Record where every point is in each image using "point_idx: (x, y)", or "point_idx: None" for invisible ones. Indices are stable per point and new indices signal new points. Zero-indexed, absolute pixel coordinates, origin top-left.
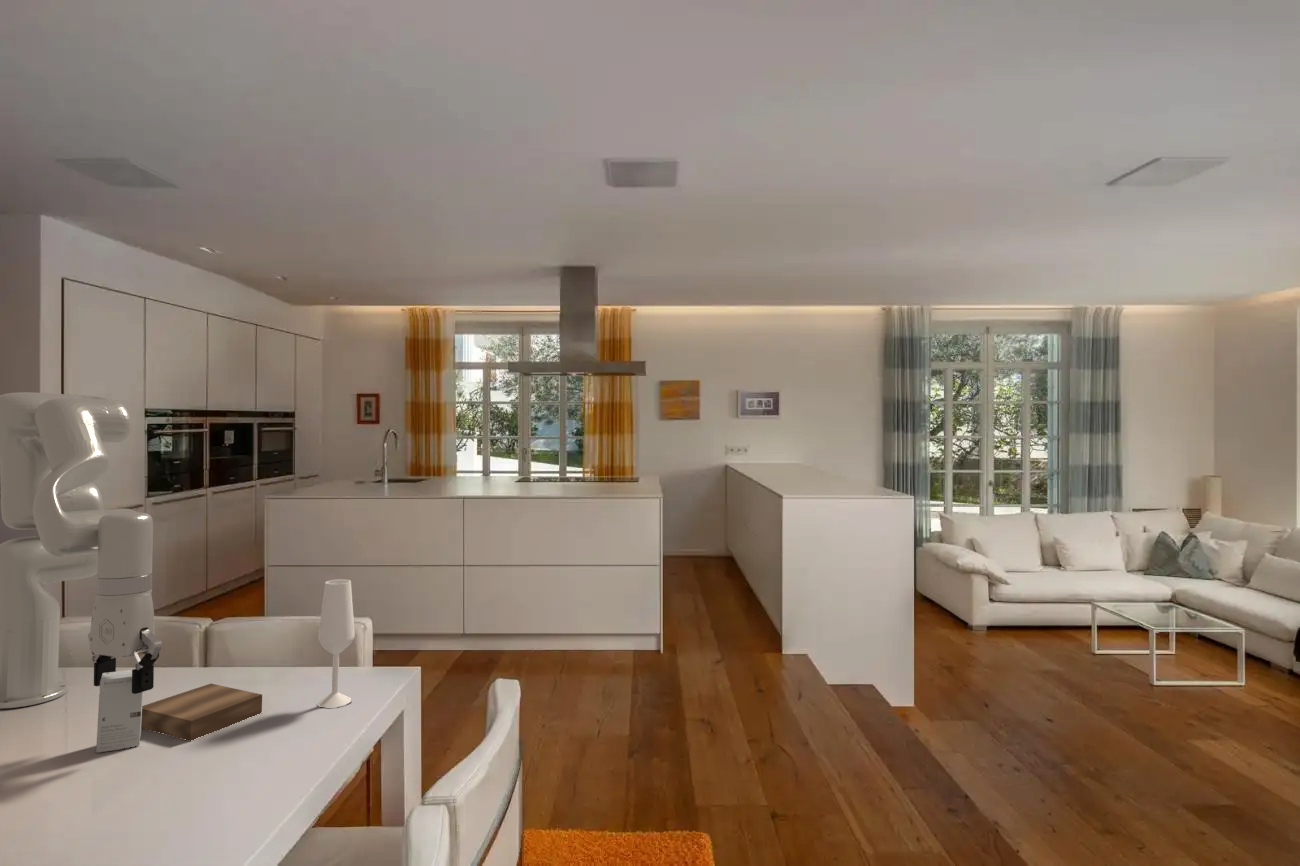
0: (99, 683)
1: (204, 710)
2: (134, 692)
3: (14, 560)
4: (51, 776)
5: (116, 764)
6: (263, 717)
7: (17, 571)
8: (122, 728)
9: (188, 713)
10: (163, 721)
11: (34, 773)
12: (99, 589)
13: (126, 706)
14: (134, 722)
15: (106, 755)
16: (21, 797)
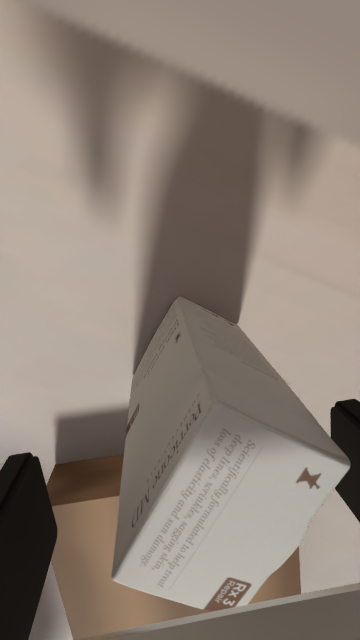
0: (337, 420)
1: (95, 561)
2: (8, 459)
3: None
4: (117, 154)
5: (55, 294)
6: (65, 618)
7: None
8: (148, 369)
9: (109, 528)
10: None
11: (182, 136)
12: None
13: (145, 416)
14: (133, 403)
15: (144, 306)
16: (26, 32)
